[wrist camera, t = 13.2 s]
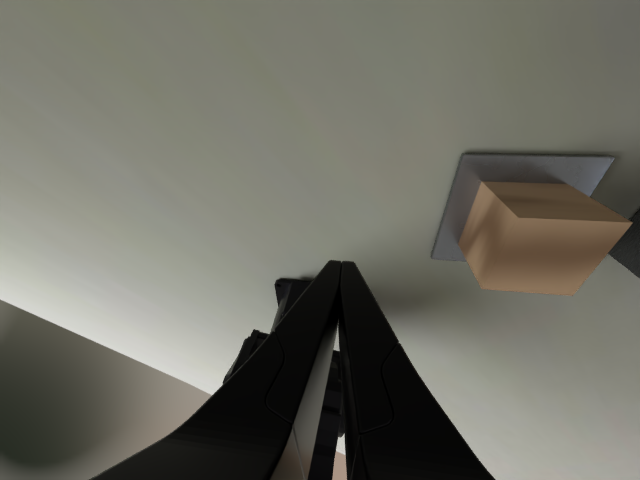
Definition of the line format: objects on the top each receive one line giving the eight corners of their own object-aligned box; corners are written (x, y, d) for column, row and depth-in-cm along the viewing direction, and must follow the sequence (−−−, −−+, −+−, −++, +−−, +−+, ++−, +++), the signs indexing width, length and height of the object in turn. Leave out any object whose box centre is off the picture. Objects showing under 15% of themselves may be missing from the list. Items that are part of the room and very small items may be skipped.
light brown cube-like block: (530, 248, 20) (572, 295, 16) (457, 244, 21) (481, 289, 17) (568, 184, 17) (632, 222, 13) (481, 181, 18) (518, 217, 14)
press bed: (541, 262, 21) (544, 266, 21) (430, 256, 22) (431, 259, 22) (610, 155, 16) (615, 157, 16) (461, 153, 17) (463, 155, 17)
